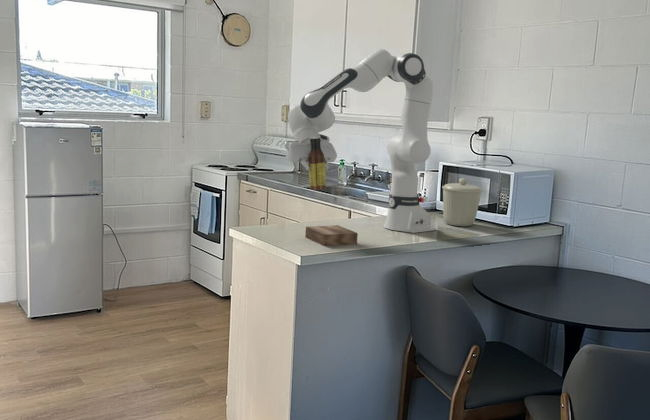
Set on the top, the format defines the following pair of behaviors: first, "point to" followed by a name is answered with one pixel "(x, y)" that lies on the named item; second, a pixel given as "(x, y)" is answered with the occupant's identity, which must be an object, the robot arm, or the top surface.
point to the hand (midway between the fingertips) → (317, 169)
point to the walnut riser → (331, 235)
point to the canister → (460, 203)
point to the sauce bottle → (316, 165)
